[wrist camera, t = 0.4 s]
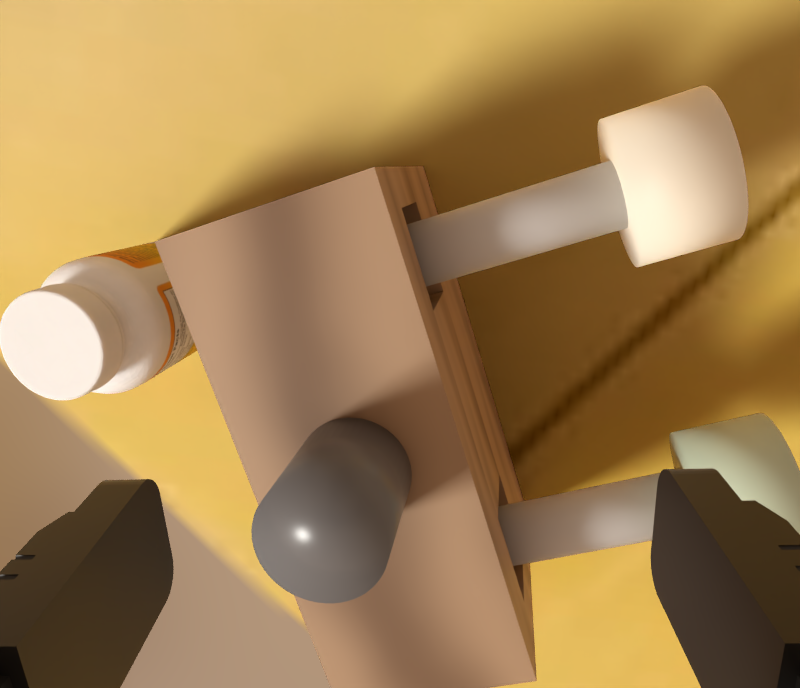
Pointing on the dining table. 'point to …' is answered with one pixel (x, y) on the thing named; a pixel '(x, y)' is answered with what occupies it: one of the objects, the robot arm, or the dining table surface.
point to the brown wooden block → (368, 416)
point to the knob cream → (610, 195)
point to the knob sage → (635, 498)
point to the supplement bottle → (96, 326)
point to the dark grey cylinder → (334, 512)
